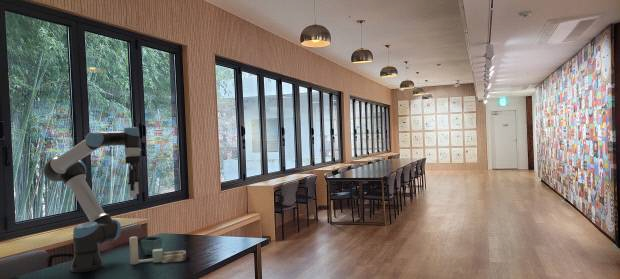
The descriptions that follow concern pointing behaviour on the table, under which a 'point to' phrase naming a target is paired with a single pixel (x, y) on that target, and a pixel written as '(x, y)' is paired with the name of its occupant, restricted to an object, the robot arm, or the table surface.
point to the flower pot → (151, 244)
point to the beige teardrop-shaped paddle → (134, 253)
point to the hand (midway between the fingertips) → (134, 195)
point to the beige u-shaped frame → (174, 256)
